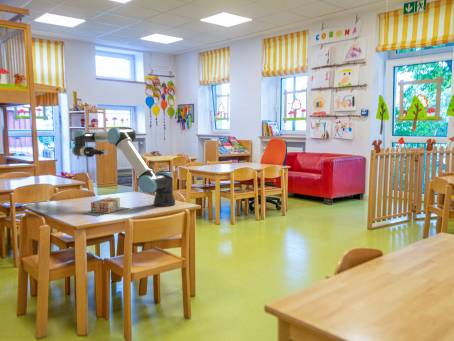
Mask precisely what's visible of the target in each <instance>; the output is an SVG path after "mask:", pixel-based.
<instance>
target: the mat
mask: <svg viewBox="0 0 454 341" xmlns="http://www.w3.org/2000/svg"><path fill="white" fill-rule="evenodd" d="M127 210H130V207H124V206H120V207H118V210H116V211H113V212H110V213H109V214H112V213H117V212H121V211H127ZM104 214H105V215H108V213H100V212H91V211H87V212H83V213H82V215H88V216H93V217H100V215H101V216H104Z"/></svg>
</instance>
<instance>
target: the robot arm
mask: <svg viewBox="0 0 454 341" xmlns="http://www.w3.org/2000/svg"><path fill="white" fill-rule="evenodd" d="M73 138H74V146H73V147H72V149H71V153H72V154H73V156H75V157H84V158H92V157H94V156H95V155H98V156H102V155H103V156H108V155H109V150H104V149H95V148H94V147H93V146H86V144H87V143H88V144H89V143H105V142H107V143H109V144H111V145H114V146H115V147H116V149H117V150H120V151H121V152H122V154H123V155H124V157H125V158H126V160H127V161H128V162H129V164H130V166H131V167H132V168H133V170H134V171H135V173H136V174H137V181H138V182H137V183H138V188H139V190H141V192H144V193H146V194H152V193H154V192H155V195H154V200H153V206H154V207H155V206H156V207H170V206H171V207H172V206H175V205H176V200H175V197H174V189H173V188H174V184H173V183H174V182H173V181H174V180H173V179H174V175H173V173H172V172H166V171H154V170H153V168H149V167H148V165H147V164H146V162H145V161H144V159H143V158H142V156H141V155H140V153H139V152H138V150H137V149H136V148H135V146H134V145H133V142H135V140H136V139H137V134H136V131H135V129H134V128H131V127H130V126H129V127H128V126H113V127H111V128H109V129H108V131H99V132H86V130H84V129H75V130H74V137H73Z"/></svg>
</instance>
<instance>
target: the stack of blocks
mask: <svg viewBox="0 0 454 341" xmlns="http://www.w3.org/2000/svg"><path fill="white" fill-rule="evenodd" d="M118 207H121V197H106V198H101V199H99V200H95V201H91V202H90V212H100V213H109V214H111V213H110V212H113V211H116V210H118Z"/></svg>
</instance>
